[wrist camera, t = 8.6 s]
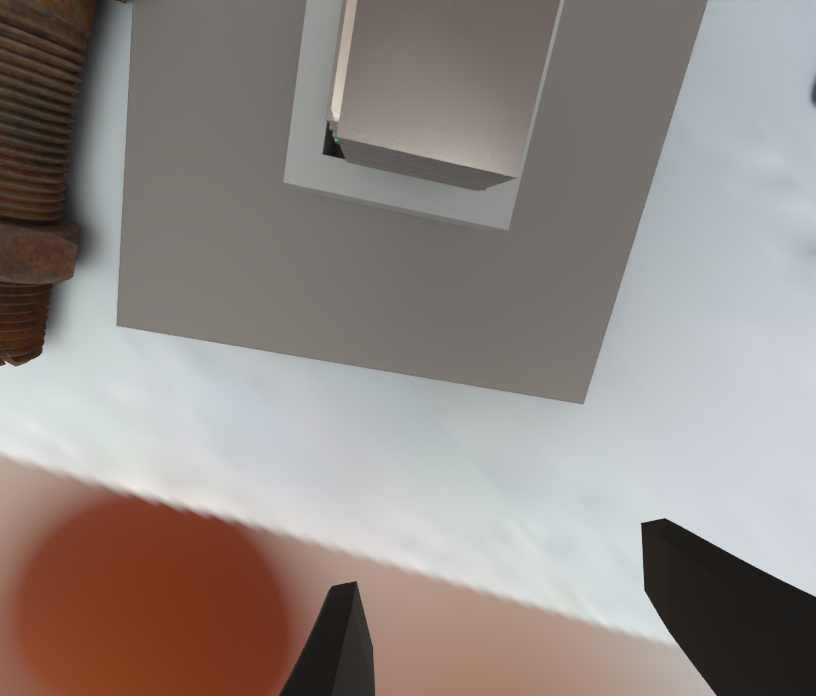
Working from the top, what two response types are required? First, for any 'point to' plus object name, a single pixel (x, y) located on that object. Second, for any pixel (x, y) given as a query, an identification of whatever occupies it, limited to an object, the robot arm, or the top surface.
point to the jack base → (386, 199)
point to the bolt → (36, 161)
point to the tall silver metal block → (439, 86)
